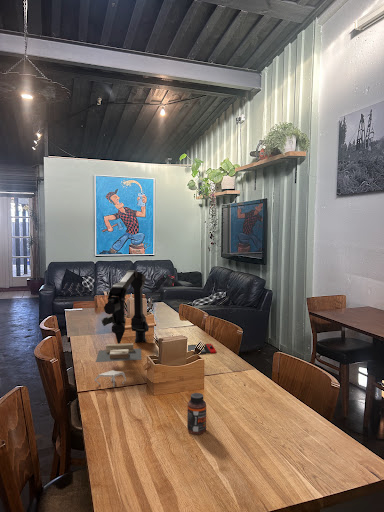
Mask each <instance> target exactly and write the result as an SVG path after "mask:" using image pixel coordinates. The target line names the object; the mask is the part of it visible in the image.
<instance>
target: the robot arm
mask: <svg viewBox="0 0 384 512" xmlns="http://www.w3.org/2000/svg"><path fill="white" fill-rule="evenodd" d="M146 279H147V278H146V275H145V274H144V273H142V272H138V271H137V270H132V269H129V270H127V272H126V273H125V275H124V276H123V277H122V279H120V281H119V282H117V283H114V284H113V285H111V287H110V289H109V293H108V296H107V302H106V303H105V304H104V306H103V310H104V312H105V314H107V315H108V316H105V317H102V318H101V324H102V326H103V327H106V326H107V325H109V324H112V326H111V332H112V333H113V334H114V335H115V337H116V338H115V339H116V341H117V343H116V344H121V341H122V339H123V336H124V334H125V332H126V316H125V315H126V313H125V312H126V310H125V301H126V297H127V294H128V288H129V286H131V287H132V289H133V309H134V311H133V312H134V314H133V316H132V318H131V320H130V321H131V322H130V326H131V331H132V332H134V333H135V334H134V337H135V339H134V343H135V344H138V343H147V338H146V333H147V332H149V329H150V326H149V324H148V321H147V318H146V316H145V315H144V309H143V308H144V307H143V306H144V305H143V303H144V302H143V301H144V300H143V288H144V286H145V284H146V281H147V280H146Z"/></svg>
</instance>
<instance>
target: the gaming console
mask: <svg viewBox="0 0 384 512" xmlns="http://www.w3.org/2000/svg"><path fill="white" fill-rule="evenodd" d="M204 344H205V347H204V349H203V350H202V351H201V353H200V354H199V355H207V354H206V353H211V354H216V353H217V350H216V348H215V346H214V345H213V344H212V343H204ZM187 345H188V351H191V350H194V349H195V347H196V345H197V344H187Z"/></svg>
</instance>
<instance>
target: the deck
mask: <svg viewBox="0 0 384 512" xmlns="http://www.w3.org/2000/svg"><path fill="white" fill-rule="evenodd" d="M111 358H128V349H122V350H110V359H111Z"/></svg>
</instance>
